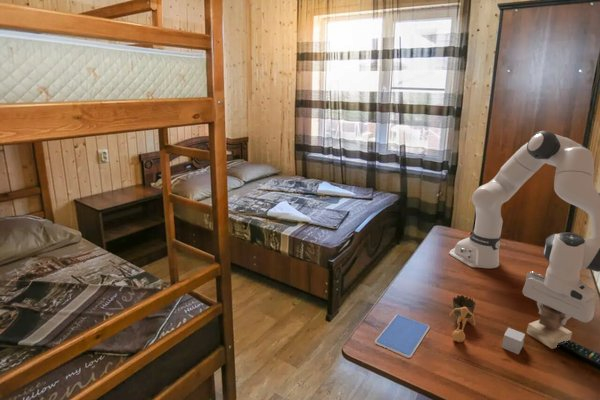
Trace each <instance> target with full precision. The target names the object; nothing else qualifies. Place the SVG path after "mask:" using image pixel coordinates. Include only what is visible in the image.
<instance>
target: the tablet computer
mask: <svg viewBox="0 0 600 400" xmlns="http://www.w3.org/2000/svg"><path fill="white" fill-rule="evenodd" d="M430 328H431V327H430V325H429V324H426V323H423V322H421V321H417V320H414V319H412V318H409V317H407V316H404V315H401V314H395V316H394V317H393V318H392V320H390V322H389V323H388V325H387V326H386V327H385V328H384V329H383V331H382V332H381V333H380V334H379V336H378V337H376V339H375V341H374V344H375V345H376V344H377V346H379V347H381V346H382V347H381V348H383V347H384V349H386V348H387V349H386V350H388V351H390V350H391V352H393V353H396V354H397V355H399V356H402V357H404V358H407V359H411V358H412V357H413V356H414V353H416V351H417V349H418V347H419V346H420V344H421V343H422V341H423V340H424V339H425V336H426V335H427V333H428V332H429V330H430Z"/></svg>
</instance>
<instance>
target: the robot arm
mask: <svg viewBox="0 0 600 400" xmlns="http://www.w3.org/2000/svg"><path fill="white" fill-rule="evenodd" d="M594 161H595V160H594V155H593V152H592V151H591V150H590V149H588V148H587V147H586V146H585V145H583V144H581V143H578V142H577V141H575V140H573V139H570V138H569V137H565V136H562V135H559V134H556V133H553V132H552V131H547V130H541V131H537V132H535V133H534V134H533V135H532V136H530V138H529V140H528V142H525V144H524V145H522V146H520V148H519V149H518V150H516V151H515V153H513V154H512V156H510V158H509V159H507V161H506V162H505V163H504V164H503V165H502V166H501V167H500V169H499V171H498V172H497V174H496V175H495V176H494V177H493V178H492V179H491V180H490V181H488V182H487V183H485V184H484V183H483V184H482V185H480V186H479V187H477V188H476V189H475V190H474V192H473V193H472V196H471V201H472V203H473V206H474V208H475V224H474V228H473V230H471V231H470V232H468V233H467V235H468V236H467V237H466V238H464V239H461V240H459V241H458V242H457V243H456V244H455V246H454V248H452V249H450V251H449V253H448V255H449V254H450V255H449V256H451V257H453V258H454V259H456V260H458V261H460V262H462V263H463V264H465V265H467V266H469V267H470V268H479V269H480V268H482V269H496V268H498V267H499V266H500V261H499V260H500V258H499V250H500V245H501V238H502V236H501V234H502V227H503V223H504V221H503V217H502V212H501V211H502V206H503V204H504V203H507V202H508V201H510V199H511V198H512V197H513V196H514V195H515V194H516V193H517V192H518V191H519V189H520V188H521V187H522V186H523V185H524V184H525V183H526V182H527V181H528V180H529V179H530V178H532V176H533V175H534V174H535V173H537V172H538V171H539V169H541V168H542V167H543V166H544V165H545V164H547V165H549V166H553V167H555V171H554V173H555V174H554V178H553V179H554V180H553V181H554V182H553V188H554V189H553V190H554V192H555V194H556V195H557V196H558V198H560V199H561V200H563V201H565V202H566V203H568V204H569V205H572V206H575V207H577V208H579V209H581V210H582V211H584V212H585V213H586V214H588V216H589V218H590V223H591V233H592V238H585V237H583V236H582V235H579V234H577V233H574V232H569V231H567V232H565V231H564V232H560V233H553V234H551V235H549V236H548V237H546V238H545V244H544V248H543V251H542V256H543V257H544V258H545V260H547V262H548V263H549V265H548V267H547V269H546V272H545V275H543V274H540V273H538V272H536V271H528V272H527V273H526V275H525V280H526V281H525V283H524V285H523V288H522V291H521V292H522V294H523V295H524V296H525V297H527V298H528V299H529V298H530V299H531V300H533V301H535V302H536V305H537V309H538V314H539V315H541V312H542V308H543V307H544V306H549V307H551V308H553V309H555V310H557V311H560V312H562V313H564V314H565V317H564V318H563V317H562V318H561V319H560V322H559V323H560V324H562V326H565V325H566V324H567V321H568V320H570V319H572V318H573V319H575V320H577V321H580V322H582V323H585V324H586V323H589V322H590V321H592V320H593V318H594V315H595V310H596V302H595V300H594V296H595V295H596V291H595V290H594V289H593V288H592V287H591V286H589V285H588V284H586V283H585V282H583V281H582V280H581V279H580V278H581V276H580V272H581V269H582V268H583V269H586V270H589V271H593V272H596V273H598V272H600V192H598V190H597V189H596V186H595V184H594V177H595V176H594V175H595V173H594V172H595V163H594Z"/></svg>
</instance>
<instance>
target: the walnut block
mask: <svg viewBox="0 0 600 400" xmlns="http://www.w3.org/2000/svg"><path fill="white" fill-rule="evenodd" d="M562 317H563V318H566V317H565V314H564V313H562V312H560V311H557V310H555V309H553V308H551V307H549V306H546V305H543V308H542V312H541V314H540V316H539V320H540V321H539V323H540V324H542V325H544V326H546V327H548V328H550V329H552V330H554V331H556V330H557V329H558V328H560V327H561V326H563V325H562V324H560V323H559V322H560V319H561V318H562Z"/></svg>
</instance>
